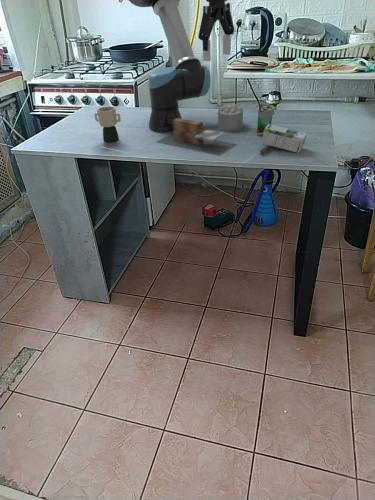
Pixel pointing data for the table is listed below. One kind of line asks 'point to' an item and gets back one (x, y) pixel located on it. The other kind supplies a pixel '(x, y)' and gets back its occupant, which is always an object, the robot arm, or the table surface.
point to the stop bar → (266, 150)
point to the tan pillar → (193, 132)
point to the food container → (264, 117)
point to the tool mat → (206, 146)
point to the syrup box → (283, 138)
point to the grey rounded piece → (230, 117)
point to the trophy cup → (108, 122)
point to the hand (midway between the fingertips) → (217, 57)
